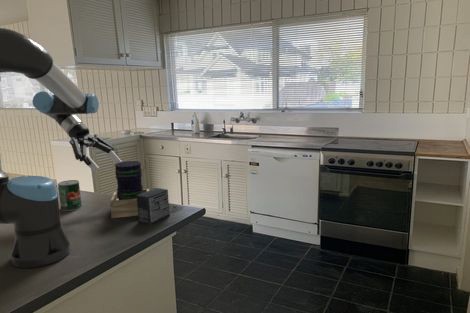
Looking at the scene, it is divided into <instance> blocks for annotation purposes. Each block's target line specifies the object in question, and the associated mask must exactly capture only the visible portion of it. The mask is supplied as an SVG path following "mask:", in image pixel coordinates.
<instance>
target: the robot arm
mask: <svg viewBox="0 0 470 313" xmlns="http://www.w3.org/2000/svg"><path fill="white" fill-rule="evenodd" d="M1 73H17V74H22V75H24V76H25V77H26V78H28V79H32V80H36V81H37V83H39V84H40V85H42V87H44V88H45V89H47V90H48V91H49V92H48V91H44V90H43V91H39V92H37V93H36V94H34V95H33V97H32V101H31V102H32V105H33V107H34V108H35V109H36V110H37V111H39V113H42V114H43V115H46V116H48V117H50V118H51V119H53V120H55V122H56V123H57V124H58V125H59V126H60V127H61V128H62V129H63V131H64V132H65V134H67V136H68V137H69V138H70V140H69V142H68V143H69V144H70V145H71V147H72V151H73V154H74V157H75V160H77V161H79V162H80V163H82V162H84V164H85V165H87V166H88V167H89V169H91V171H92V172H93V173H95V174H96V173H97V171H99V169H100V166H98V164H97V163H96V162H95V161H94V159H92V158H91V156H90V155H87V149H88V148H91V147H92V148H96V149H98V150H100V151H103V152H104V153H107V156H108V157H109V158H110V159H111V161H113V163H115V164H117V163H120V162H123V161H122V160H121V159H120V157H119V156H118V154H117V153H116V152H115V151H114V150H115V146H114V145H113V144H111V143H109V142H107V141H106V140H104V139H103V138H102V137H100V136H99V135H98V134H97V133H95V134H94V135H91V134H90V129H89V128H88V127H87V126H86V124H84V122H83V121H82V120H81V119H80V118H79V117H78V115H89V114H96V113H97V112H98V110H99V104H100V103H99V99H98V96H97V95H96V94H94V93H90V92H88V93H85V92H84V91H83V90H82V89H81V88H80V87H79V85H77V84H76V83H75V82H74V81H73V80H72V79H71V78H70V77H69V76H68V75H67V74H66V73H65V72H64V71H63V69H61V68H60V67H59V66H58V65H57V64H56V63H55V62H54V59H53V57H52V55H51V54H50V53H49V51H48V50H47V49H45V48H44V47H43V46H42V45H41V44H40V43H37V42H36V41H35V40H33V39H32V38H31V37H28V36H27V35H24V34H23V33H21V32H18V31H16V30H12V29H9V28H5V27H4V28H3V27H0V74H1ZM1 80H2V79H1V77H0V82H1ZM51 93H52V94H51ZM1 157H2V155H1V154H0V225H6V224H7V225H8V224H9V225H12V224H13V227H14V232H15V234H14V235H15V236H14V241H13V246H12V250H11V255H10V256H11V262H12V265H13V266H14V267H15V268H21V269H23V268H24V269H31V268H32V269H33V268H39V267H43V266H47V265H51V264H54V263H56V262H58V261H61V260H62V259H64V258H65V257H67V256H68V255H69V254H70V253H71V250H72V249H71V243H70V240H69V238H68V236H67V235H66V233H65V230H64V228H62V223H61V213H60V205H59V197H58V196H59V191H58V190H57V189H58V188H57V186H56V183H55V181H54V179H52V178H50V177H47V176H42V175H27V176H25V175H20V176H15V177H12V178H11V179H9V174H7V173H6V172H5V171H3V168H2V158H1Z"/></svg>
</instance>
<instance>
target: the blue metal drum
mask: <svg viewBox="0 0 470 313" xmlns="http://www.w3.org/2000/svg"><path fill="white" fill-rule="evenodd" d="M141 165H142V163H141V162H140V161H135V160H130V161H129V160H128V161H122V162H120V163H117V164H115V165H114V167H115V178H116V182H117V183H116V184H117V188H116V191H117V195H118V198H119V200H126V199H137V197H136V195H138V194H141V193H143V189H144V187H143V184H142V176H143V174H142V166H141Z"/></svg>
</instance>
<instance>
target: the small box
mask: <svg viewBox="0 0 470 313" xmlns="http://www.w3.org/2000/svg"><path fill="white" fill-rule="evenodd" d="M136 197H137V207H138V216H137V217H138V223H142V224H146V225H150V226H151V225H153V224H155V223H157V222H159V221H161V220H164V219H166V218H168V217H170V214H171V213H170V204H169V203H170V202H169V201H170V200H169V190H168V188H167V189H165V188H159V187H155V188H152V189H149V191H147V192H144V193H141V194H138V195H136Z"/></svg>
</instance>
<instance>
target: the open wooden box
mask: <svg viewBox="0 0 470 313" xmlns="http://www.w3.org/2000/svg"><path fill="white" fill-rule="evenodd" d="M149 190H150V188H143V193H144V192H147V191H149ZM109 206H110V214H111V216H110V218H111V219H115V218H125V217H126V218H127V217H138V207H137V199H126V200H119V198H118V195H117V190H115V191H114V192H113V194H112V197H111V199H110V201H109Z"/></svg>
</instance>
